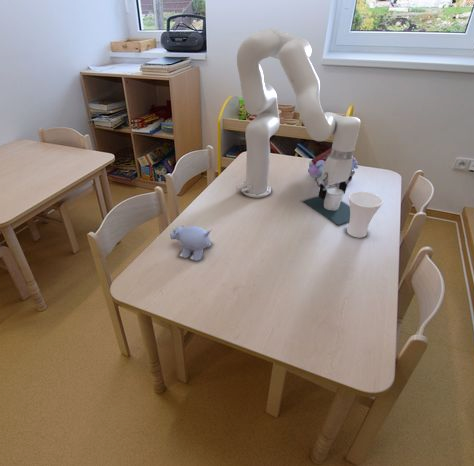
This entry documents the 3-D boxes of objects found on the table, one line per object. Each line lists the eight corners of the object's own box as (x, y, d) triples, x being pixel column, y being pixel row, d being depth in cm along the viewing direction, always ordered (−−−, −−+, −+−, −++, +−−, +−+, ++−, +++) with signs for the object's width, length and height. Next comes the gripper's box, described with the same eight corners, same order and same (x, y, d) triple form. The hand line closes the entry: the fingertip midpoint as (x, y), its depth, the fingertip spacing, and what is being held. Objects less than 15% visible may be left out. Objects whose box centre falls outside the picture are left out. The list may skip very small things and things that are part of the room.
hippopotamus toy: (180, 235, 119) (177, 213, 114) (218, 244, 114) (217, 221, 108) (165, 253, 111) (161, 229, 106) (205, 263, 106) (203, 240, 100)
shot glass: (340, 203, 132) (344, 188, 128) (340, 212, 126) (343, 196, 122) (322, 201, 134) (325, 186, 130) (321, 210, 128) (324, 194, 124)
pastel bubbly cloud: (334, 186, 134) (356, 145, 130) (292, 168, 148) (311, 130, 143) (351, 195, 149) (372, 158, 145) (312, 178, 163) (330, 143, 158)
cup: (373, 227, 118) (383, 194, 110) (371, 244, 110) (382, 209, 103) (342, 221, 122) (350, 189, 114) (339, 237, 114) (347, 203, 106)
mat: (338, 225, 120) (338, 224, 120) (303, 201, 135) (303, 200, 135) (364, 216, 124) (365, 215, 124) (328, 194, 139) (328, 193, 139)
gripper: (352, 145, 123) (341, 186, 133) (315, 153, 117) (307, 195, 127) (367, 152, 117) (355, 194, 127) (329, 161, 112) (320, 204, 122)
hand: (331, 195), depth 127 cm, fingers open, 9 cm apart
